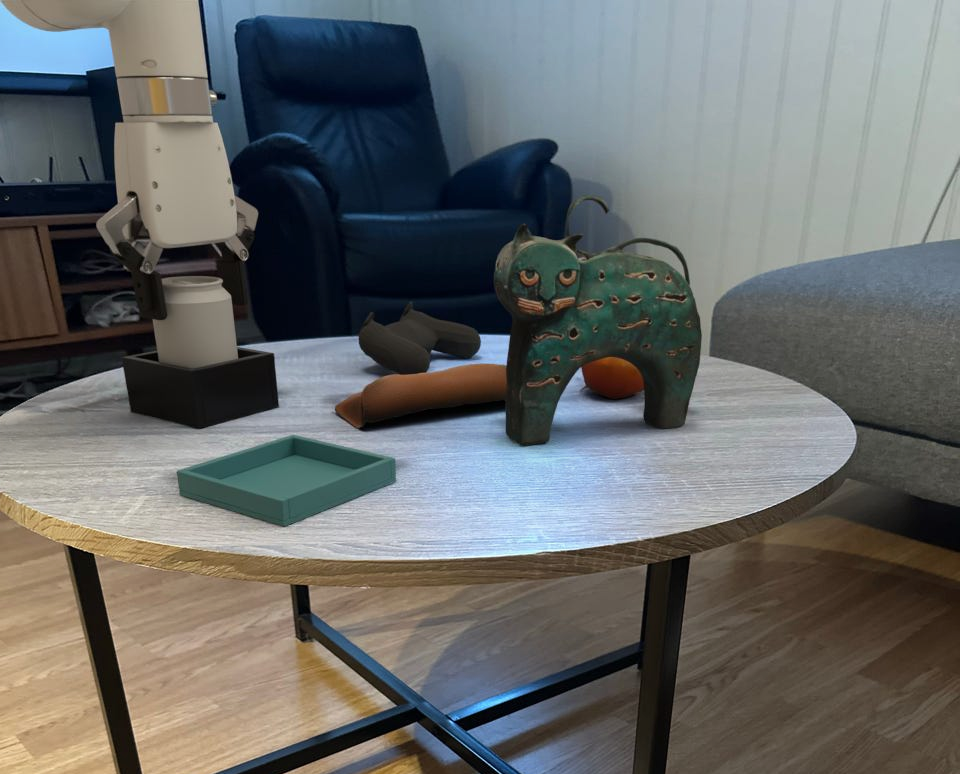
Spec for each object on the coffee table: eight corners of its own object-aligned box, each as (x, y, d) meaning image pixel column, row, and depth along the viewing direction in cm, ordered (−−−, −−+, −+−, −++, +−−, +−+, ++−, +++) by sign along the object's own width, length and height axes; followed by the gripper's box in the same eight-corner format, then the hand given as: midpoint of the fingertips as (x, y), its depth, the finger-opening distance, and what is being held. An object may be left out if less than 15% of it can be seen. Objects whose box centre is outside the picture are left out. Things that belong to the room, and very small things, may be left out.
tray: (284, 526, 65) (281, 500, 64) (179, 494, 71) (175, 470, 70) (396, 481, 74) (395, 458, 73) (295, 456, 80) (293, 434, 79)
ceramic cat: (507, 452, 81) (513, 197, 72) (480, 432, 86) (481, 193, 77) (701, 429, 88) (729, 194, 78) (664, 413, 93) (687, 190, 84)
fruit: (602, 366, 105) (635, 307, 99) (644, 414, 103) (680, 356, 97) (550, 376, 101) (581, 314, 95) (593, 426, 98) (627, 367, 92)
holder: (199, 429, 87) (191, 371, 85) (130, 412, 92) (121, 357, 90) (279, 406, 94) (274, 352, 92) (211, 392, 100) (205, 341, 97)
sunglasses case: (483, 385, 101) (500, 335, 95) (512, 432, 98) (532, 383, 92) (327, 407, 92) (337, 353, 87) (355, 458, 90) (367, 406, 84)
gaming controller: (469, 374, 119) (410, 326, 120) (491, 336, 115) (429, 287, 116) (403, 403, 106) (337, 349, 107) (425, 361, 102) (356, 305, 103)
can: (259, 403, 94) (246, 276, 89) (205, 419, 89) (187, 285, 83) (205, 393, 98) (189, 271, 92) (149, 409, 92) (128, 279, 86)
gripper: (215, 106, 89) (238, 295, 97) (50, 103, 77) (92, 320, 85) (270, 105, 85) (289, 302, 93) (106, 101, 73) (145, 329, 81)
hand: (196, 310), depth 89 cm, fingers open, 9 cm apart
